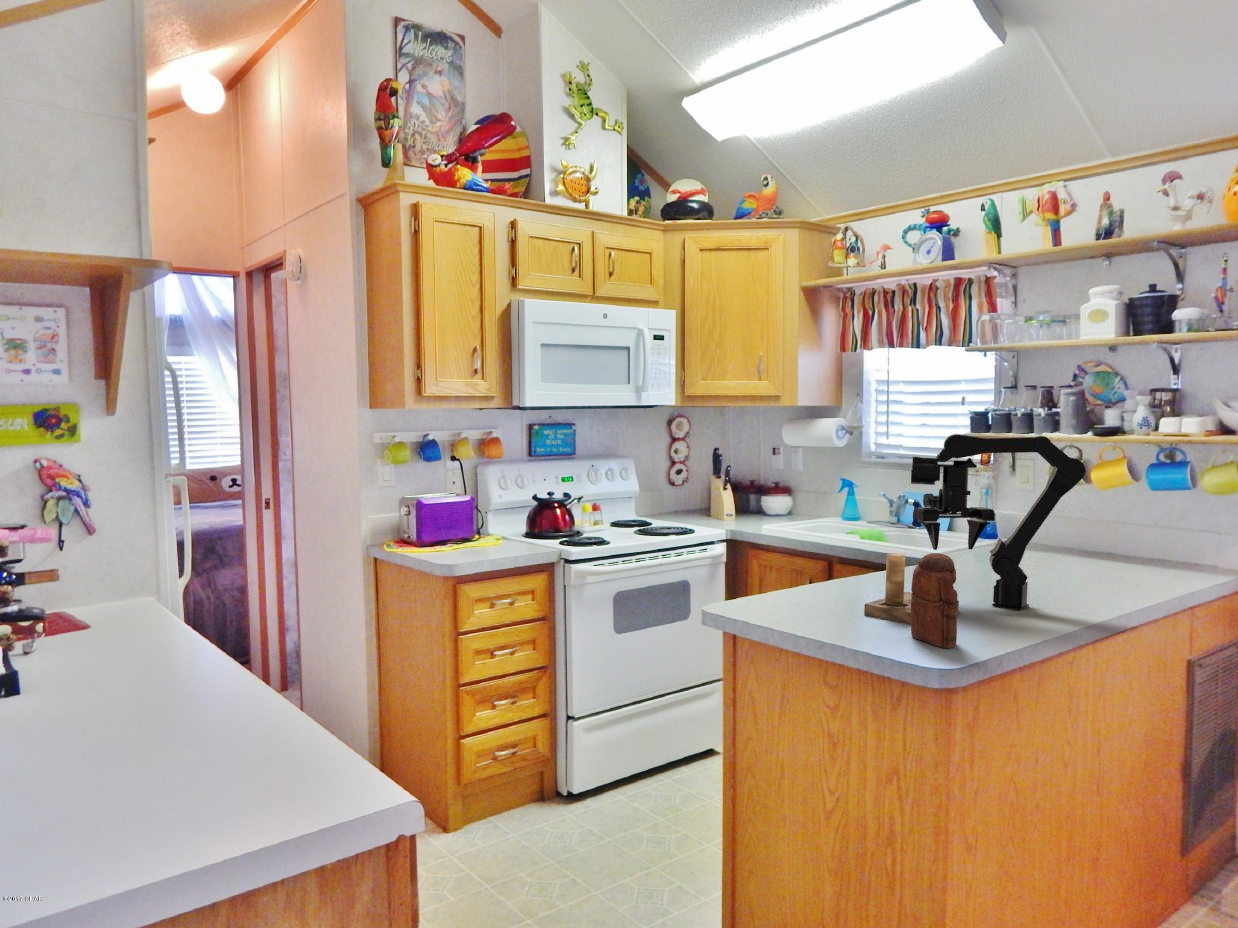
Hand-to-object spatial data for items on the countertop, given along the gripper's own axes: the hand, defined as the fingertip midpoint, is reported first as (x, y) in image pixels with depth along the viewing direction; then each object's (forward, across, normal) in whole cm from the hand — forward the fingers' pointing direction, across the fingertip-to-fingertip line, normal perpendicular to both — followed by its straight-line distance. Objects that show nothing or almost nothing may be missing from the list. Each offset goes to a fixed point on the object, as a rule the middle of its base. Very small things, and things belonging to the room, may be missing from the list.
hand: (952, 549), depth 211 cm
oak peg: (+13, +21, +12) cm, 27 cm away
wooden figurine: (+13, +22, +34) cm, 43 cm away
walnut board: (+13, +15, +10) cm, 22 cm away
